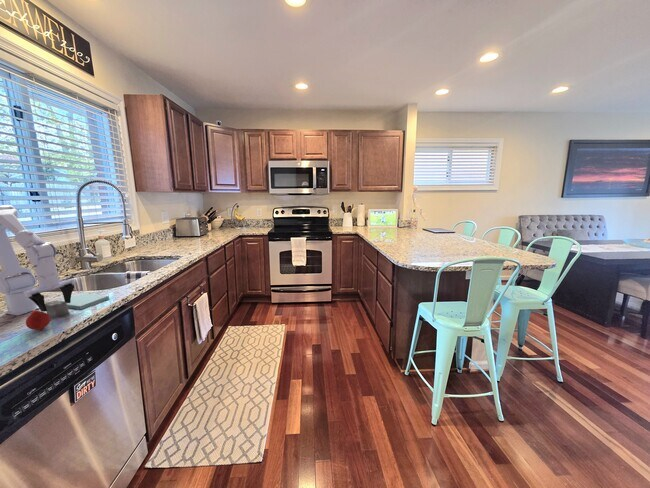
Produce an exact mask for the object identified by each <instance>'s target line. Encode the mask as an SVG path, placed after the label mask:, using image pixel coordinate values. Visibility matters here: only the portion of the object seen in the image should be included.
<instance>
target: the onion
mask: <svg viewBox="0 0 650 488" xmlns="http://www.w3.org/2000/svg"><path fill="white" fill-rule="evenodd" d="M50 323H51V317H49V315H48V314H47V312H46V311H45V312H43V311H41V310H38V309H36V310H32V311H31V313H30V314H29V315H28V316H27V318H26V319H25V326H26V328H28V329H30V330H34V331H37V332H40V331H43V330H44V329H45V328H47V326H49V324H50Z"/></svg>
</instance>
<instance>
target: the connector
mask: <svg viewBox="0 0 650 488" xmlns="http://www.w3.org/2000/svg"><path fill="white" fill-rule="evenodd" d="M45 306H46V309H47V311H45V313H47V314H48V315H49V317H50V318H57V319H58V318H63V317H67V316H69V314H70V312H69V308H68V307H67V303H66V302H65V301H59V300H57V299H56V300H51V301H48V302H47V301H46V302H45Z"/></svg>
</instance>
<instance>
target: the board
mask: <svg viewBox="0 0 650 488" xmlns="http://www.w3.org/2000/svg"><path fill="white" fill-rule="evenodd" d="M108 300H110V296H109V295H106V294H97V293H96V294H95V293H87V292H81V293H77V294H74V295H71V303H67V307H68V309H76V310H83V309H86V308H90V307H91V306H95V305H98V304H99V303H102V302H105V301H108ZM58 301H65V300H64V298H62V299H58Z"/></svg>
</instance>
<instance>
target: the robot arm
mask: <svg viewBox="0 0 650 488" xmlns="http://www.w3.org/2000/svg"><path fill="white" fill-rule="evenodd" d="M6 229H7V230H8V231H9V232H10V233H12V235H14V241H16V243H17V244H18V245H20V247H22V248H23V249H24V251H25V256H26V258H27V259H28V260H29V261H30V264H31V266H33V268H34V272H35V274H36V275H35V274H34V273H33V272H32V270H31V268H27V267H23V266H21V263H20V262H19V259H18V256H17V254H16V253H15V251H14V247H13V246H12V245H13V244H11V241H10V238H9V235H8V233H7V231H6ZM56 249H57V248H56V247H55V246H54V245H53V243H52V242H49V241H48V242H47V241H46V240H43V239H42V238H40V237H39V236H38V235H37V234H36V232H35V231H33V230H30V229H29V230H28V229H27V228H26V227H25V226H24V225H23V223H21V221H20V220H19V219H18V211H17V209H16V208H15V207H14V206H13V205H11V204H6V205H0V268H1V271H0V293H1V294H4V297H3V301H4V304H5V306H6V307H5V308H6V309H7V311H5V312H4V314H8V315H14V316H20V315H24V314H26V313H27V314H28V313H31V312H32V310H38V309H39V311H41V312H45V313H46V311H47V309H46V306H45V303H46V302H45V295H44V294H42V293H45V292H49V291H52V290H56V289H59V290H60V291H61V293H62V296H63V299H64V300H65V302H66V303H71V296H72V293H73V290H74V288H75V284H76V281H75V279H74V278H68V279H65V280H61V279H60V276H59V272H58V269H57V266H56V262H55V258H54V257H55V256H56V255H57V250H56ZM37 283H38V286H37V287H35V286H36V285H37Z"/></svg>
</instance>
